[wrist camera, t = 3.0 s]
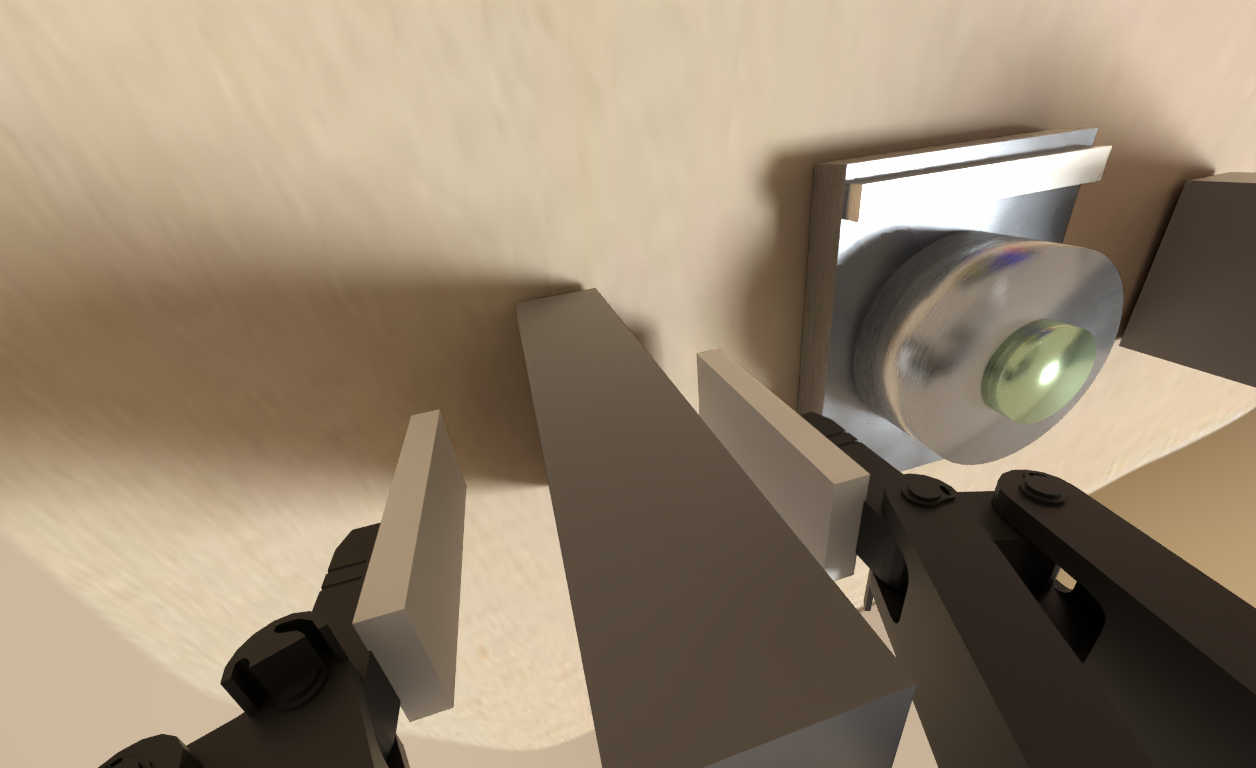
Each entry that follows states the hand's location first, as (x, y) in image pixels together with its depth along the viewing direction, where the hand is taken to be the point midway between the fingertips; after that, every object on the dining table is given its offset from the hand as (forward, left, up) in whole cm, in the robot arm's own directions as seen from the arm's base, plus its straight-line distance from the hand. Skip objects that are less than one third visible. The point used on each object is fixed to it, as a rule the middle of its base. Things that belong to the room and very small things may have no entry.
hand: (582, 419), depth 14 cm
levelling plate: (0, +13, -2) cm, 13 cm away
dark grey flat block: (0, 0, -2) cm, 2 cm away
